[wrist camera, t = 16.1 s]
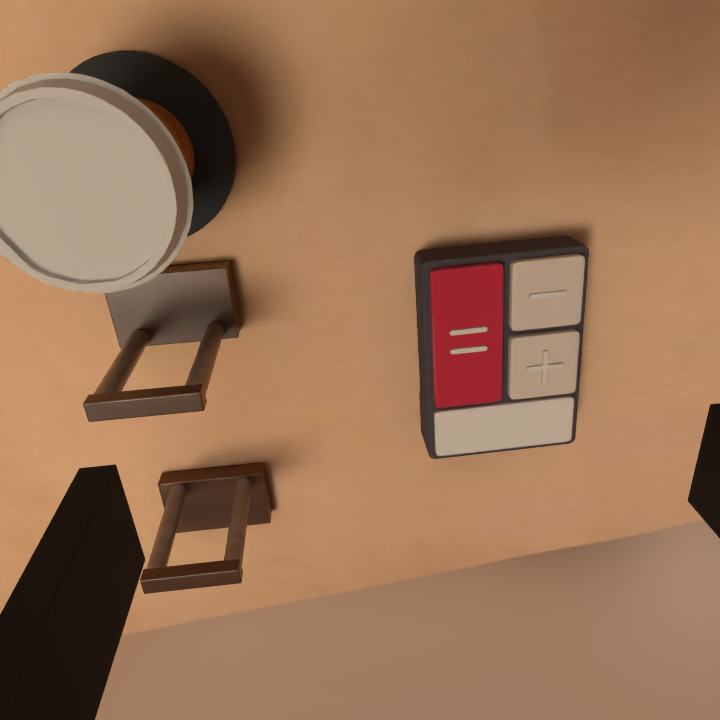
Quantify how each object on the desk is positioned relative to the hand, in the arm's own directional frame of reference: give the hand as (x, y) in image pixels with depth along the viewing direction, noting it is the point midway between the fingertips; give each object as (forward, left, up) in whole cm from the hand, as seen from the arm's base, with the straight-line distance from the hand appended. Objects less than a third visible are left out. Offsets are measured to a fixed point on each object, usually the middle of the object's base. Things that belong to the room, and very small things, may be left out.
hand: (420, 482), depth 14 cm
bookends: (+14, -12, -29) cm, 34 cm away
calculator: (+11, +10, -29) cm, 32 cm away
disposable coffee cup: (-4, -12, -28) cm, 31 cm away
